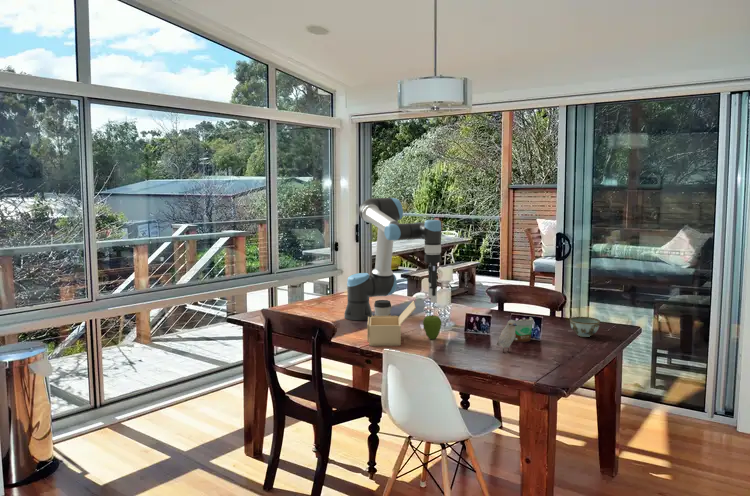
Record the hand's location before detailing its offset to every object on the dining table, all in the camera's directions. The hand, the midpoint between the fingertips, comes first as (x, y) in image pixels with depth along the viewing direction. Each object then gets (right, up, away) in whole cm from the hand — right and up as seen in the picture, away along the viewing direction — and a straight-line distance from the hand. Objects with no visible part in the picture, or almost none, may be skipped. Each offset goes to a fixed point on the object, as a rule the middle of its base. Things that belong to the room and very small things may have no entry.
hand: (432, 299), depth 286 cm
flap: (-15, -9, -2) cm, 18 cm away
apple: (0, -19, +2) cm, 19 cm away
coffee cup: (-23, -17, +16) cm, 33 cm away
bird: (+30, -21, -21) cm, 42 cm away
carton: (-22, -19, -1) cm, 29 cm away
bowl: (+72, -18, +6) cm, 75 cm away
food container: (+42, -19, -1) cm, 46 cm away
